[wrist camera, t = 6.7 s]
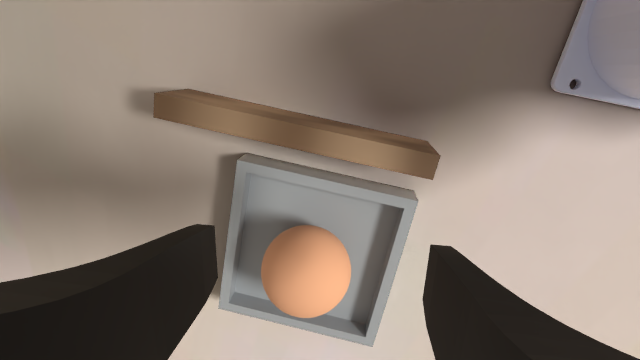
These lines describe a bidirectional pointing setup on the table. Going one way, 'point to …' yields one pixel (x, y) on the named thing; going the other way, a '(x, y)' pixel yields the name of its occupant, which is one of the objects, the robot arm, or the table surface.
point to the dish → (328, 213)
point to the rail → (298, 131)
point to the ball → (306, 271)
